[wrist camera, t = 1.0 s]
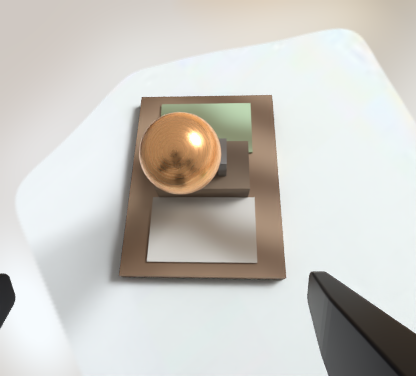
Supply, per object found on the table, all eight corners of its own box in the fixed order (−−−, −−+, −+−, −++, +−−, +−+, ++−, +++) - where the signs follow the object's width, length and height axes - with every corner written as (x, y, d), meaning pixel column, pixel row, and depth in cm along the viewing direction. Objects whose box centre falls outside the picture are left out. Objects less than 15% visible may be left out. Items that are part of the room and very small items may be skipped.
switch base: (283, 279, 22) (299, 271, 17) (123, 276, 22) (97, 268, 18) (270, 102, 28) (279, 61, 23) (144, 104, 29) (129, 64, 24)
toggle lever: (222, 184, 22) (221, 197, 9) (181, 184, 22) (128, 197, 10) (222, 143, 22) (221, 102, 9) (181, 143, 22) (126, 103, 9)
